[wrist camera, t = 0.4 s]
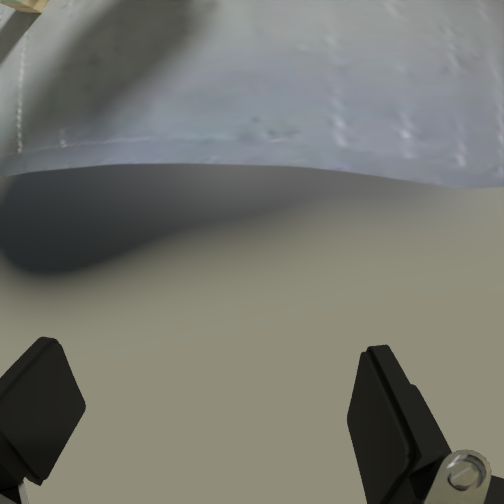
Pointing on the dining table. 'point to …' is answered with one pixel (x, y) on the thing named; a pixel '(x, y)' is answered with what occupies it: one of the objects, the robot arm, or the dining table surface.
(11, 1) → the block top
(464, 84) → the dining table surface
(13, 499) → the robot arm
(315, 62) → the dining table surface
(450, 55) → the dining table surface
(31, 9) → the block bottom
